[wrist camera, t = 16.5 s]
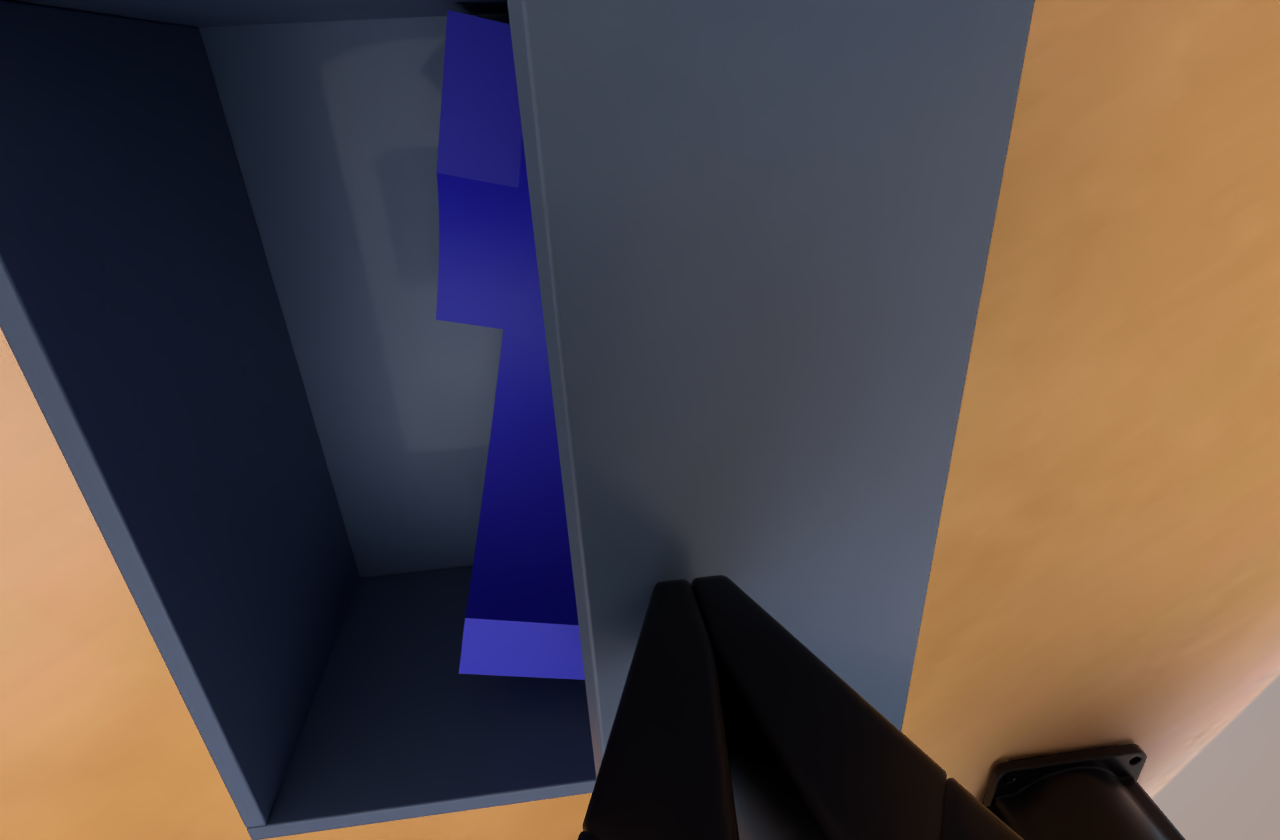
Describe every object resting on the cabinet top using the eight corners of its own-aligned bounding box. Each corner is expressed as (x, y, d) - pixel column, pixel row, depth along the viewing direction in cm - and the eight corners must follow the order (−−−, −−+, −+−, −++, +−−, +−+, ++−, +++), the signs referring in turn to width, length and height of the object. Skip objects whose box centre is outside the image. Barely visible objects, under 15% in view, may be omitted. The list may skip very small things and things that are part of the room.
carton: (795, -20, 15) (1015, -105, 8) (769, 534, 22) (875, 753, 15) (181, 6, 14) (-197, -67, 7) (352, 580, 21) (251, 841, 14)
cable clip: (466, 22, 14) (417, -11, 9) (674, 70, 15) (744, 66, 10) (429, 505, 19) (383, 669, 14) (587, 520, 20) (601, 680, 15)
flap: (1026, -109, 8) (1057, -116, 7) (878, 771, 14) (892, 785, 14) (484, -175, 5) (504, -190, 4) (615, 959, 11) (626, 980, 11)
